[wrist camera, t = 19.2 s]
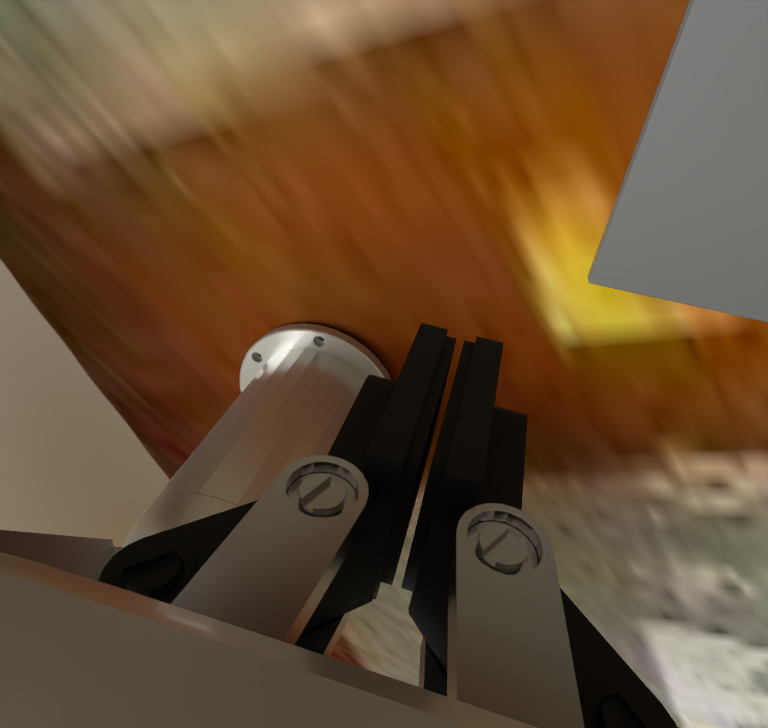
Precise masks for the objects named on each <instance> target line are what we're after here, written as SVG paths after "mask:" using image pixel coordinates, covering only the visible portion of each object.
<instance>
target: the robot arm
mask: <svg viewBox="0 0 768 728" xmlns="http://www.w3.org/2000/svg"><path fill="white" fill-rule="evenodd" d="M447 331H448V329H444V328H440V327H436V326H432V325H427V324H423V323H421V325H420V328H419V330H418V333H417V335H416V337H415V340H414V342H413V344H412V347H411V349H410V352H409V354H408V356H407V359H406V361H405V363H404V366H403V368H402V371H401V373H400V375H399V378H398V380H397V381H394V380H391V378H390V376H389V374H388V372H387V370H386V369H385V367H384V366H383V365H382V363H381V362H380V361H379V359H378V358H377V357H376V356H375V355H374V354H373V353H372V352H371V351H370V350H369V349H367V348H366V347H365V346H364V345H362V344H361V343H360V342H358V341H357V340H355V339H354V338H352V337H350V336H348V335H346V334H344V333H342V332H340V331H338V330H335V329H332V328H328V327H325V326H322V325H315V324H306V323H301V324H289V325H285V326H281V327H278V328H275V329H273V330H271V331H269V332H268V333H266V334H264V335H263V336H262V337H261V338H260V339H259V340H258V341H256V342H255V343H254V345H253V346H252V347H251V348H250V349H249V351H248V352H247V354H246V356H245V358H244V360H243V362H242V365H241V370H240V389H241V394H240V395H239V396H238V398H237V399H236V400H235V401H234V403H233V404H232V405H231V406H230V408H229V409H228V410H227V411H226V412H225V414H224V415H223V416H222V417H221V419H220V420H219V421H218V422H217V423H216V425H215V426H214V427H213V428H212V430H211V431H210V432H209V433H208V435H207V436H206V437H205V438H204V439H203V441H202V442H201V443H200V444H199V446H198V447H197V448H196V449H195V450H194V452H193V453H192V454H191V455H190V457H189V458H188V459H187V460H186V462H185V463H184V464H183V465H182V466H181V468H180V469H179V470H178V471H177V473H176V474H175V475H174V476H173V478H172V479H171V480H170V481H169V482H168V484H167V485H166V486H165V488H164V489H163V490H162V491H161V492H160V494H159V495H158V496H157V497H156V499H155V500H154V501H153V502H152V504H151V505H150V506H149V507H148V509H147V510H146V511H145V512H144V513H143V515H142V516H141V517H140V519H139V520H138V521H137V522H136V524H135V525H134V527H133V528H132V529H131V531H130V533H129V535H128V537H127V539H126V541H125V543H124V545H123V547H114V545H113V541H112V540H110V539H99V538H87V537H76V536H64V535H53V534H42V533H41V534H40V533H30V532H18V531H8V530H0V728H679V727H677V726H676V724H675V722H674V720H673V719H672V718H671V716H670V715H669V713H668V712H667V711H666V709H665V708H664V706H663V705H662V704H661V703H660V701H659V700H658V699H657V698H656V697H655V696H654V695H653V693H652V692H651V691H650V690H649V689H648V688H647V687H646V685H645V684H644V683H643V682H642V681H641V680H640V679H639V677H638V676H637V675H636V674H635V673H634V672H633V671H632V669H631V668H630V667H629V666H628V665H627V664H626V663H625V661H624V660H623V659H622V658H621V657H620V656H619V655H618V653H617V652H616V651H615V650H614V649H613V648H612V647H611V645H610V644H609V643H608V642H607V641H606V640H605V639H604V637H603V636H602V635H601V634H600V633H599V632H598V631H597V629H596V628H595V627H594V626H593V625H592V624H591V623H590V621H589V620H588V619H587V618H586V617H585V616H584V615H583V613H582V612H581V611H580V610H579V609H578V608H577V607H576V605H575V604H574V603H573V602H572V601H571V600H570V599H569V597H568V596H567V595H566V594H565V593H564V592H563V591H562V589H561V588H560V586H559V580H558V575H557V569H556V563H555V558H554V552H553V548H552V545H551V542H550V539H549V537H548V535H547V534H546V532H545V531H544V530H543V528H542V527H541V525H540V524H539V523H537V522H536V521H535V520H534V519H533V518H532V517H530V516H529V515H528V514H526V513H524V512H522V511H521V507H522V492H523V477H524V461H525V446H526V430H527V415H526V414H522V413H518V412H514V411H510V410H506V409H503V408H499V407H495V406H494V402H495V396H496V389H497V383H498V376H499V369H500V363H501V356H502V349H503V343H502V342H498V341H494V340H490V339H486V338H481V337H476V341H475V343H472V342H468V341H464V345H463V349H462V352H461V356H460V360H459V364H458V367H457V371H456V375H455V378H454V382H453V386H452V390H451V393H450V397H449V401H448V405H447V408H446V412H445V416H444V419H443V423H442V427H441V431H440V434H439V438H438V442H437V446H436V449H435V453H434V457H433V461H432V464H431V468H430V472H429V476H428V480H427V484H426V488H425V492H424V497H423V501H422V505H421V509H420V513H419V517H418V521H417V525H416V529H415V534H414V538H413V542H412V546H411V550H410V554H409V558H408V562H407V566H406V570H405V575H404V579H403V583H402V587H401V588H403V589H407V590H410V591H413V593H412V597H411V601H410V605H409V609H408V610H409V614H410V616H411V617H412V619H413V621H414V622H415V624H416V625H417V627H418V629H419V630H420V632H421V633H422V635H423V639H422V644H421V651H420V671H419V687H417V686H414V685H411V684H408V683H405V682H402V681H399V680H396V679H393V678H390V677H387V676H384V675H381V674H378V673H375V672H372V671H369V670H366V669H363V668H360V667H357V666H354V665H351V664H348V663H345V662H342V661H339V660H336V659H333V658H330V657H329V656H330V654H331V652H332V650H333V648H334V646H335V644H336V643H337V641H338V639H339V637H340V635H341V633H342V631H343V629H344V627H345V625H346V623H347V620H348V617H349V614H350V611H352V610H354V609H356V608H358V607H360V606H362V605H365V604H367V603H369V602H371V601H372V600H373V599H376V596H377V593H378V590H379V586H380V583H381V582H384V583H387V584H391V585H392V583H393V579H394V576H395V572H396V569H397V565H398V562H399V558H400V555H401V551H402V547H403V544H404V540H405V537H406V533H407V530H408V526H409V523H410V519H411V515H412V512H413V508H414V505H415V501H416V498H417V494H418V490H419V487H420V483H421V480H422V476H423V473H424V469H425V465H426V462H427V458H428V455H429V451H430V447H431V443H432V439H433V435H434V431H435V427H436V423H437V418H438V414H439V410H440V406H441V402H442V397H443V393H444V389H445V385H446V380H447V376H448V372H449V368H450V364H451V359H452V355H453V351H454V347H455V342H456V339H455V338H451V337H447Z"/></svg>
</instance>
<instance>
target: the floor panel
mask: <svg viewBox="0 0 768 728" xmlns="http://www.w3.org/2000/svg"><path fill="white" fill-rule="evenodd" d="M588 281H589V283H592V284H596V285H601V286H605V287H610V288H614V289H619V290H623V291H628V292H632V293H637V294H642V295H646V296H651V297H655V298H660V299H664V300H669V301H673V302H678V303H682V304H687V305H692V306H696V307H701V308H705V309H710V310H714V311H719V312H723V313H728V314H732V315H737V316H741V317H746V318H751V319H755V320H760V321H764V322H768V0H690V1H689V4H688V7H687V9H686V12H685V15H684V18H683V20H682V23H681V26H680V28H679V31H678V34H677V36H676V39H675V42H674V45H673V47H672V50H671V53H670V55H669V58H668V61H667V63H666V66H665V69H664V72H663V74H662V77H661V80H660V82H659V85H658V88H657V91H656V93H655V96H654V99H653V101H652V104H651V107H650V109H649V112H648V115H647V118H646V120H645V123H644V126H643V128H642V131H641V134H640V136H639V139H638V142H637V145H636V147H635V150H634V153H633V155H632V158H631V161H630V164H629V166H628V169H627V172H626V174H625V177H624V180H623V182H622V185H621V188H620V191H619V193H618V196H617V199H616V201H615V204H614V207H613V209H612V212H611V215H610V218H609V220H608V223H607V226H606V228H605V231H604V234H603V237H602V239H601V242H600V245H599V247H598V250H597V253H596V255H595V258H594V261H593V264H592V266H591V269H590V272H589V274H588Z"/></svg>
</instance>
